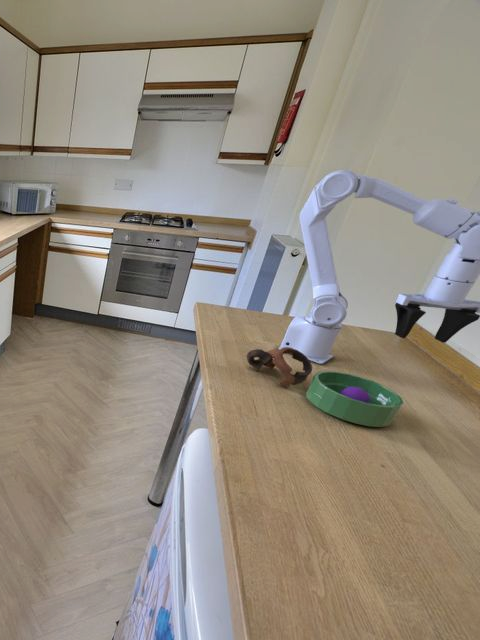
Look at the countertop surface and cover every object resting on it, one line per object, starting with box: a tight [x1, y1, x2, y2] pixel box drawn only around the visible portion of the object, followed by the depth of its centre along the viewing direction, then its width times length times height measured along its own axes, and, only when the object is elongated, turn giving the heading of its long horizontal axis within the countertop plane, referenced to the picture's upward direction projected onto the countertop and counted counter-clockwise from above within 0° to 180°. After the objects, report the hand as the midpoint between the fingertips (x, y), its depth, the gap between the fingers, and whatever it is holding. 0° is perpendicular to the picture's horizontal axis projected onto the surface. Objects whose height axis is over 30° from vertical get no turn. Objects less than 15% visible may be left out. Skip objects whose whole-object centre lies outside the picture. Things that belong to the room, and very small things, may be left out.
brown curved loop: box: [246, 347, 313, 388], centre depth 91 cm, size 12×10×8 cm
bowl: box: [305, 370, 404, 428], centre depth 81 cm, size 13×13×5 cm
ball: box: [340, 387, 370, 403], centre depth 80 cm, size 4×4×4 cm
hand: (419, 338), depth 90 cm, fingers open, 7 cm apart
